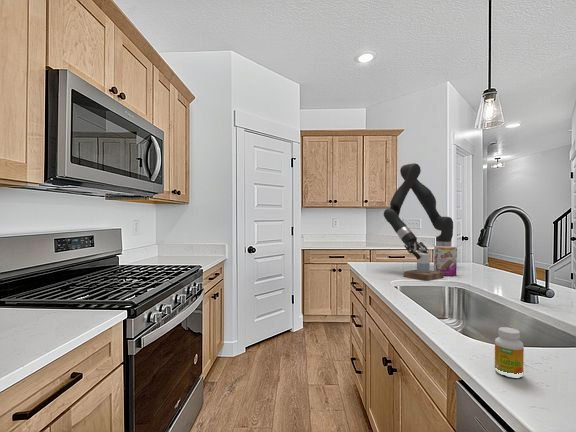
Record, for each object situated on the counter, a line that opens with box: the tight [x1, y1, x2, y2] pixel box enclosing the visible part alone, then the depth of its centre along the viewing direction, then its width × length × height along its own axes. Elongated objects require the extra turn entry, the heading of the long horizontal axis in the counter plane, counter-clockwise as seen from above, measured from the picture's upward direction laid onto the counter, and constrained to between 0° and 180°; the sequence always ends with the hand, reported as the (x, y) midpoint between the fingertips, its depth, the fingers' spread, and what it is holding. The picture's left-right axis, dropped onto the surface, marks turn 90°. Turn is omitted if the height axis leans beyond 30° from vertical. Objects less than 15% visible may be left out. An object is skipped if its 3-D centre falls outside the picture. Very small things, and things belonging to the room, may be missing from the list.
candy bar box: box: [433, 245, 458, 277], centre depth 198 cm, size 11×5×16 cm, turn 84°
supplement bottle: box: [494, 326, 525, 374], centre depth 77 cm, size 5×5×10 cm
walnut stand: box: [403, 269, 445, 282], centre depth 192 cm, size 16×14×3 cm
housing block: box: [416, 252, 431, 273], centre depth 192 cm, size 5×4×10 cm
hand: (424, 257), depth 192 cm, fingers open, 8 cm apart
